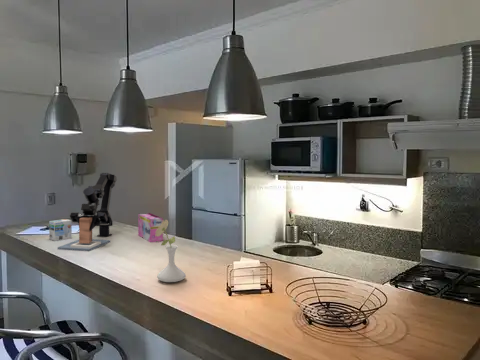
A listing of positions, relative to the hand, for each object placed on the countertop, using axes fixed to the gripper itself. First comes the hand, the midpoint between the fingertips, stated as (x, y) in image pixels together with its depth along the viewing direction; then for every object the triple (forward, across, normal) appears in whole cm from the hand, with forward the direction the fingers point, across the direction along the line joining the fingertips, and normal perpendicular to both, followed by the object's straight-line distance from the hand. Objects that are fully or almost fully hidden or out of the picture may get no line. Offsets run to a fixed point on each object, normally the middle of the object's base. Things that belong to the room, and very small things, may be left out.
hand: (84, 230), depth 212 cm
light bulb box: (-9, -22, +22) cm, 33 cm away
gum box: (-12, +29, +26) cm, 41 cm away
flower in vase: (+44, +54, -31) cm, 76 cm away
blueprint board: (+3, -2, +11) cm, 11 cm away
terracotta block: (+4, 0, +6) cm, 7 cm away
